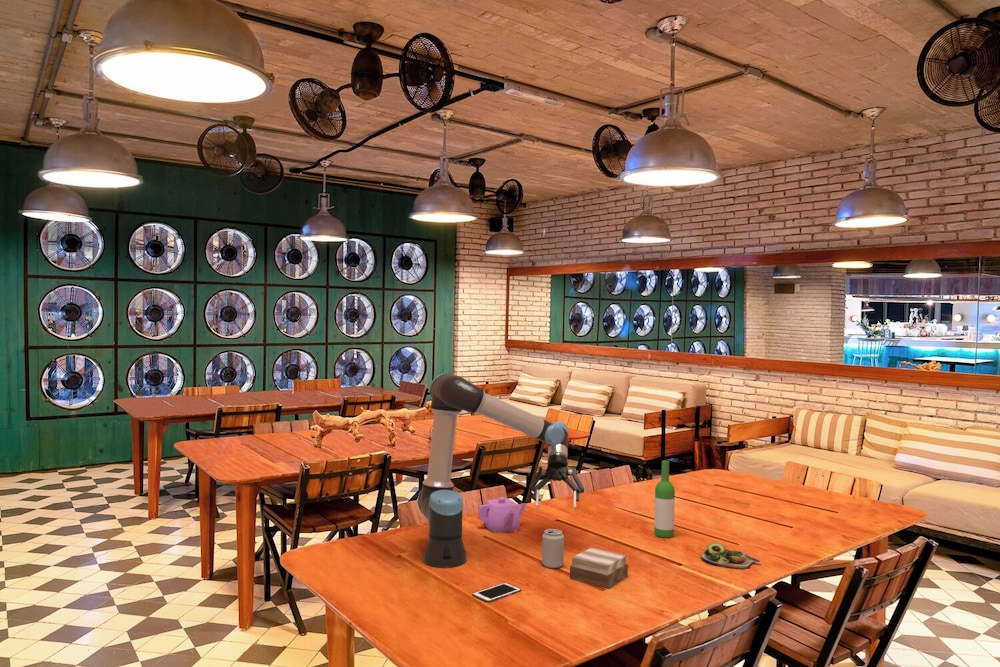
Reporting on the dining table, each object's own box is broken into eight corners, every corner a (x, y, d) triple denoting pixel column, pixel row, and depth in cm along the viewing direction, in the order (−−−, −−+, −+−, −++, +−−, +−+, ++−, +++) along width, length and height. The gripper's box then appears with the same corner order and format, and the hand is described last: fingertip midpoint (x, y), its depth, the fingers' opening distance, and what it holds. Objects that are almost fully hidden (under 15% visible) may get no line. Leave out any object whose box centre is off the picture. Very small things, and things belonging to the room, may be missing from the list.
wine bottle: (672, 533, 275) (673, 459, 275) (675, 539, 268) (676, 463, 268) (652, 532, 276) (654, 458, 276) (655, 538, 268) (656, 462, 268)
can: (550, 560, 240) (550, 526, 240) (567, 565, 236) (568, 530, 235) (537, 565, 235) (538, 531, 234) (555, 570, 230) (556, 535, 230)
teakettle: (491, 519, 290) (491, 491, 290) (528, 525, 284) (528, 495, 284) (473, 530, 275) (474, 500, 275) (512, 536, 268) (513, 505, 268)
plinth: (607, 588, 214) (608, 566, 214) (569, 578, 223) (570, 557, 223) (627, 576, 226) (628, 555, 226) (590, 567, 234) (591, 546, 234)
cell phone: (471, 596, 207) (471, 593, 207) (505, 584, 217) (505, 581, 217) (488, 604, 202) (488, 601, 202) (522, 592, 212) (522, 588, 212)
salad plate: (763, 559, 246) (763, 546, 246) (755, 574, 231) (755, 561, 231) (709, 550, 256) (709, 538, 256) (697, 563, 240) (698, 550, 240)
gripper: (590, 465, 262) (590, 514, 247) (525, 463, 265) (522, 511, 250) (590, 453, 256) (590, 503, 242) (524, 452, 259) (521, 501, 245)
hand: (555, 508), depth 246 cm, fingers open, 13 cm apart
